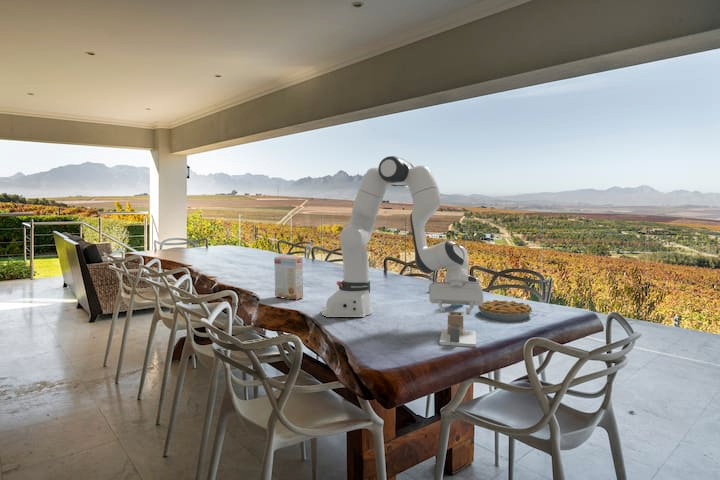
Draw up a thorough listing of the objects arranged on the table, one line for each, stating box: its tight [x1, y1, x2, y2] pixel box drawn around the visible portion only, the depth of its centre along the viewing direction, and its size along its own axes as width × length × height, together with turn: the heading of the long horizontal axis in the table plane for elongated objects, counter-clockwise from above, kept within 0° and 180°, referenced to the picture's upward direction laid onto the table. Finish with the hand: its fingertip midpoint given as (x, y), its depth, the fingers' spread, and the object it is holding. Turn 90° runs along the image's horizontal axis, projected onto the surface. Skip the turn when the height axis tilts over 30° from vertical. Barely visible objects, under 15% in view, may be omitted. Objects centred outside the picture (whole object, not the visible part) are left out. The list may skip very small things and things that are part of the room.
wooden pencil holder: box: [447, 311, 464, 335], centre depth 162 cm, size 10×5×7 cm, turn 167°
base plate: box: [439, 328, 477, 348], centre depth 160 cm, size 16×12×1 cm
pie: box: [477, 299, 533, 322], centre depth 193 cm, size 22×22×5 cm
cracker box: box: [273, 255, 304, 300], centre depth 229 cm, size 14×6×21 cm, turn 58°
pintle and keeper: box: [450, 313, 460, 342], centre depth 159 cm, size 12×3×8 cm, turn 167°
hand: (455, 313), depth 170 cm, fingers open, 8 cm apart
